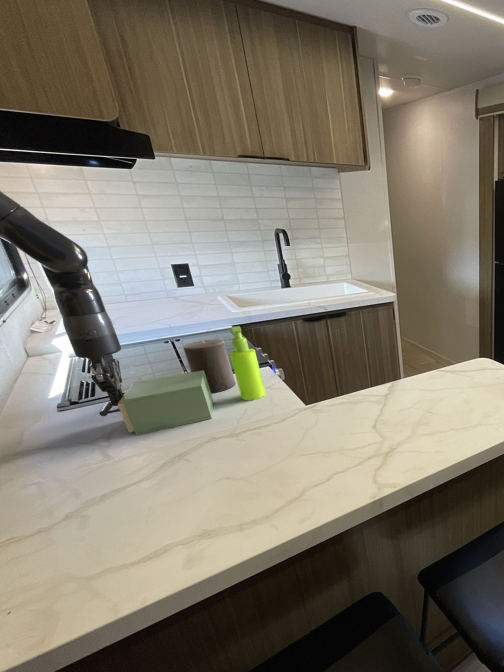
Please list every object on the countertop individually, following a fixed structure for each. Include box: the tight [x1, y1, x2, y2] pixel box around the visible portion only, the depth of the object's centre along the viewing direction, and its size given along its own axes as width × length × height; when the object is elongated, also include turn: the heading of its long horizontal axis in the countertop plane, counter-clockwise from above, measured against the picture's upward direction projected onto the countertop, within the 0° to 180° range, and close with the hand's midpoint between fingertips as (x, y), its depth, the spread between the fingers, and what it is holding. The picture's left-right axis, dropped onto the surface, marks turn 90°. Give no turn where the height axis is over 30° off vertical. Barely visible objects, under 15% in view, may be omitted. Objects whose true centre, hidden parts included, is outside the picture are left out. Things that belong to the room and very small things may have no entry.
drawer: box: [99, 386, 135, 433], centre depth 98 cm, size 18×12×7 cm
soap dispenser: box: [229, 325, 267, 401], centre depth 109 cm, size 6×7×20 cm
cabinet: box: [123, 370, 214, 436], centre depth 100 cm, size 15×13×9 cm
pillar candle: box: [183, 338, 237, 394], centre depth 117 cm, size 10×10×15 cm
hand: (119, 404), depth 95 cm, fingers closed
